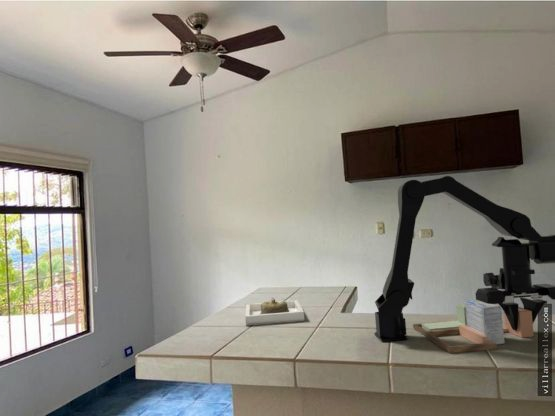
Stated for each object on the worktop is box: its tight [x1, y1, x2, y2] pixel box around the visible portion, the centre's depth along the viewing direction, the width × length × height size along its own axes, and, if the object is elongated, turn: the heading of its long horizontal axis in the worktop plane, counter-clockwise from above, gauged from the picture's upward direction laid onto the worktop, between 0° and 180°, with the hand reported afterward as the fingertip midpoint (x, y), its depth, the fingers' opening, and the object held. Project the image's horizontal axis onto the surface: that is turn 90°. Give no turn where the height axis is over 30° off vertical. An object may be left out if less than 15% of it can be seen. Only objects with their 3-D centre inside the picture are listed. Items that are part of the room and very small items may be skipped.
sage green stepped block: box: [421, 303, 467, 331], centre depth 103 cm, size 12×5×6 cm, turn 93°
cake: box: [260, 297, 289, 314], centre depth 132 cm, size 10×10×5 cm
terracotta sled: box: [459, 306, 534, 344], centre depth 94 cm, size 15×10×6 cm
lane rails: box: [412, 320, 498, 354], centre depth 97 cm, size 11×20×1 cm, turn 3°
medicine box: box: [464, 299, 505, 346], centre depth 94 cm, size 8×4×9 cm, turn 3°
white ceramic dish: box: [244, 299, 305, 327], centre depth 131 cm, size 18×18×3 cm
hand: (521, 329), depth 96 cm, fingers closed on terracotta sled, 3 cm apart
